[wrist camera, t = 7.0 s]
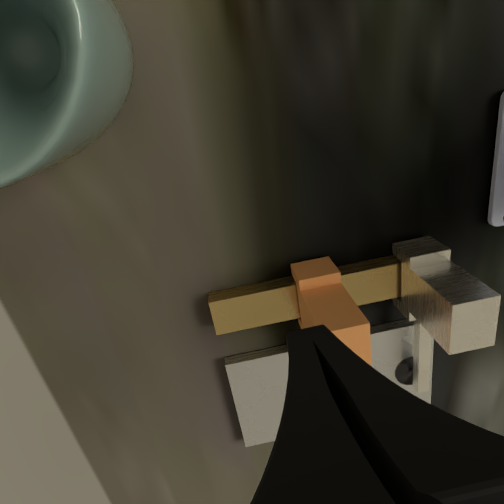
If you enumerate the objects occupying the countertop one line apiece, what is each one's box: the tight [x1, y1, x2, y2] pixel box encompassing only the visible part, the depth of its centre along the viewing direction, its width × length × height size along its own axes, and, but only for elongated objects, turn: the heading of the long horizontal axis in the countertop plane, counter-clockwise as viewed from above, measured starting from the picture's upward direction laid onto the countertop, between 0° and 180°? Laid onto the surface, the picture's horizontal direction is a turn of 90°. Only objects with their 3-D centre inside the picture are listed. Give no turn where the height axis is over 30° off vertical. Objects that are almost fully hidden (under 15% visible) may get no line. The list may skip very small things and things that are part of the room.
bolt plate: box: [225, 319, 434, 447], centre depth 27 cm, size 14×8×1 cm, turn 100°
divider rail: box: [208, 236, 501, 393], centre depth 22 cm, size 14×11×6 cm
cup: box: [0, 0, 134, 188], centre depth 13 cm, size 8×8×10 cm
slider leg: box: [291, 256, 372, 366], centre depth 22 cm, size 2×11×6 cm, turn 10°
